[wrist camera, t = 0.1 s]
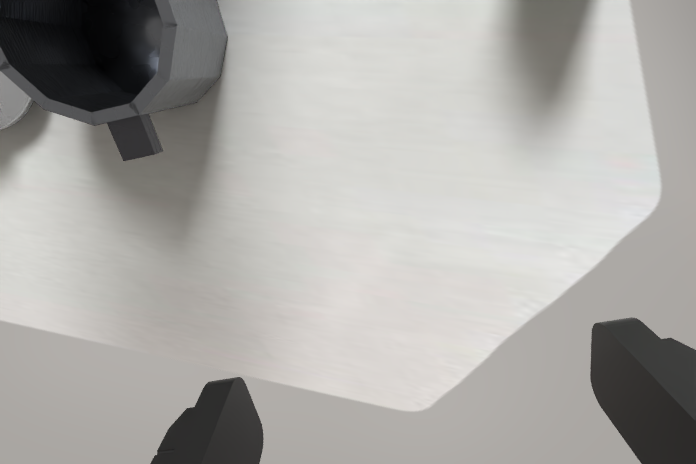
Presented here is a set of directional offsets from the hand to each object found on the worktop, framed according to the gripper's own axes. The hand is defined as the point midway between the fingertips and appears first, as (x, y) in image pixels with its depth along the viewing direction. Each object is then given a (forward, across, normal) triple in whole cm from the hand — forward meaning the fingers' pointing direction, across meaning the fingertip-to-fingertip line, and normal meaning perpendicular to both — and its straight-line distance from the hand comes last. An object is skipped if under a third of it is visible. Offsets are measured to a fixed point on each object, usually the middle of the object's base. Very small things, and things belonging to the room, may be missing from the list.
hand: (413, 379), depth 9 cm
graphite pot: (+29, +16, -13) cm, 36 cm away
